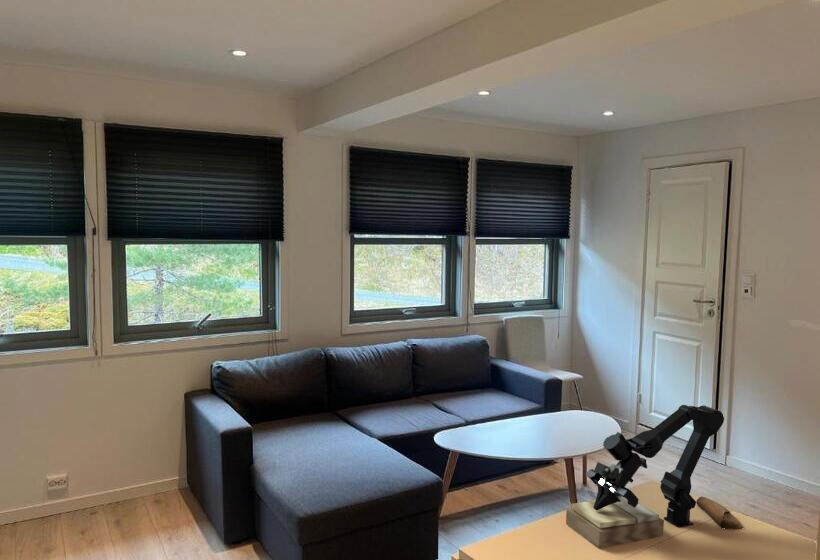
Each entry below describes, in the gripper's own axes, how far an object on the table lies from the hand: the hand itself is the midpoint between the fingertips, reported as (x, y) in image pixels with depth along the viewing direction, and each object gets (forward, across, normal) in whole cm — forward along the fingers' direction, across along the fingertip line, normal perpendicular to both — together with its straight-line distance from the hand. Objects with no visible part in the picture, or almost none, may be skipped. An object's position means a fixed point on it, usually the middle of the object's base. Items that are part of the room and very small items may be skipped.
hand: (594, 509), depth 182 cm
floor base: (0, 0, +11) cm, 11 cm away
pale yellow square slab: (0, 0, +4) cm, 4 cm away
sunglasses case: (-28, +3, +40) cm, 49 cm away
